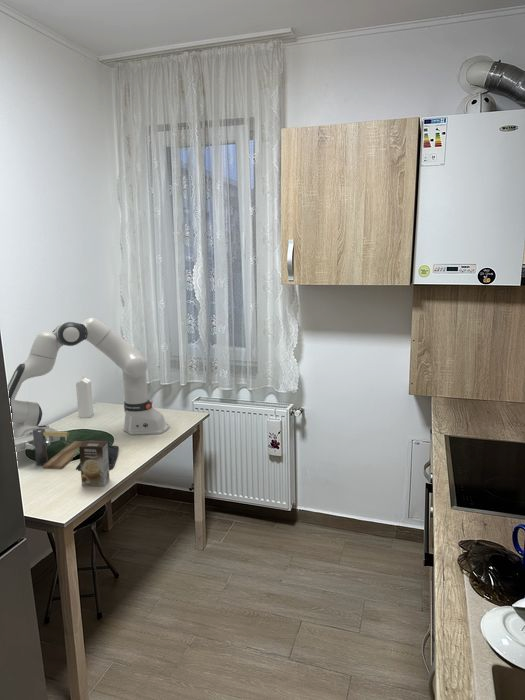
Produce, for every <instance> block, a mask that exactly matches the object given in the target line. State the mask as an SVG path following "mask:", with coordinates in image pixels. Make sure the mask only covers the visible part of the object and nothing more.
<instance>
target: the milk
mask: <svg viewBox="0 0 525 700" xmlns="http://www.w3.org/2000/svg"><path fill="white" fill-rule="evenodd" d="M75 388H76V398H77V399H76V400H77V411H78V413H77V414H78V418H79V419H81V418H84V419H85V418H87V419H89V418H91V417H92V416H93V415H94V406H93V405H94V403H93V402H94V401H93V390H92V380H91V379H89V378H87V377H86V374H84V375H83V376H81V377H80V380H78V382H76V383H75Z"/></svg>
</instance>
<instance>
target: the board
mask: <svg viewBox="0 0 525 700" xmlns="http://www.w3.org/2000/svg"><path fill="white" fill-rule="evenodd" d="M84 441H85V440H84ZM84 441H83V440H82V441H81V440H79V441H78V440H77V441H76V440H72V441H71V442H69V444H67V445H66V446H65V447H64V448H62V449H61V450H60V451H59V452H58V453H56V454H55V455H54V456H52V457H51V458H50V459H48V462H46V463H45V464H42V468H43V469H54V470H55V469H56V470H57V469H58V470H62V469H64V468H65V467H66V466H67V465H68V464H70V462H71V461H72V460H73V456H74V452H75V450H76V451H77V449H79V446H80V445H81V444H82V443H83V442H84Z"/></svg>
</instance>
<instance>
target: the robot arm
mask: <svg viewBox="0 0 525 700" xmlns="http://www.w3.org/2000/svg"><path fill="white" fill-rule="evenodd" d="M83 341H87V342H88V343H90V344H91V345H93V347H95V348H96V349H98V350H99V351H100V352H101V353H103V354H104V355H105V356H106V357H108V358H109V359H110V360H111V361H112V362H113V363H114V364H116V366H117V367H118V368H120V369H121V370H122V379H123V380H122V381H123V390H124V391H123V392H124V393H123V394H124V402H123V409H124V424H123V428H122V429H123V431H124V432H127V433H128V434H129V435H131V436H132V435H133V436H135V435H139V436H140V435H160V434H163V433H165V432H166V431H168V430H169V428H170V423H169V422H167V421H166V420H165V417H164V414H162V413H161V412H160V411H158V410H157V409H156V408H154V407H153V400H151V401H150V400H149V397H148V396H149V395H148V382H147V374H146V373H147V370H148V361H147V359H146V358H145V356H144V354H143V353H142V352H141V351H140V350H138V349H135V347H133V346H132V345H131V344H130V343H128V342H127V341H126V340H125V339H124V338H123V337H121V335H119V334H118V333H117V332H116V331H114V330H113V329H112V328H110V327H109V326H108V325H107V324H105V323H103V322H102V321H101V320H99V319H97V318H95V317H88V318H86V319H85V320H83V321H82V322H81V323H79V322H74V321H64V322H61V323H60V324H59V325H58V326H57V327H56V328H55V329H54V330H52V331H41V332H38V334H37V335H36V337H35V339H34V340H33V343H32V345H31V348H30V352H29V355H28V357H27V359H26V360H24V362H23V363H20V364H18V366H17V367H16V368H15V370H14V372H13V374H12V375H11V378H10V380H9V382H8V384H7V386H8V391H9V398H10V406H11V413H12V422H13V430H14V437H15V447H16V452H15V453H18V452H22V451H24V450H31V451H35V449H36V448H35V445H34V439H33V430H35V429H40V428H43V429H45V431H58V430H57V429H55V428H53V427H50V425H48V424H47V425H46V424H45V425H44V424H43V425H40V423H41V421H42V418H43V410H42V408H41V406H40V404H39V403H38V402H34V401H28V400H27V401H23V400H16V397H17V396H18V395H17V394H18V393H19V390H20V388H21V386H22V384H23V383H24V382H25V381H27V380H28V379H29V380H30V379H32V378H35V377H36V378H37V377H38V378H39V377H42V376H45V375H48V374H49V373H50V372H52V371H53V369H54V366H55V363H56V360H57V356H58V352H59V351H60V348H61V347H63V346H69V347H73V346H76V345H79V344H80V343H81V342H83ZM60 439H61V437H57V436H46V446H47V447H48V446H50V445H51V443H54V442H58V441H60Z"/></svg>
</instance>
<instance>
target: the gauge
mask: <svg viewBox="0 0 525 700" xmlns="http://www.w3.org/2000/svg"><path fill="white" fill-rule="evenodd" d="M69 435H70V434H69V431H59V430H57V431H45V429H43V428H40V429H35V430H33V439H34V445H35V448H36V449H34V457H35V458H34V459H35V463H36V465H44V464H45V463H46V462H48V461H49V458H48V446H46V436H57V437H60V438H61V437H63V438H65V440H64V441H65V442H68V437H69Z"/></svg>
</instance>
